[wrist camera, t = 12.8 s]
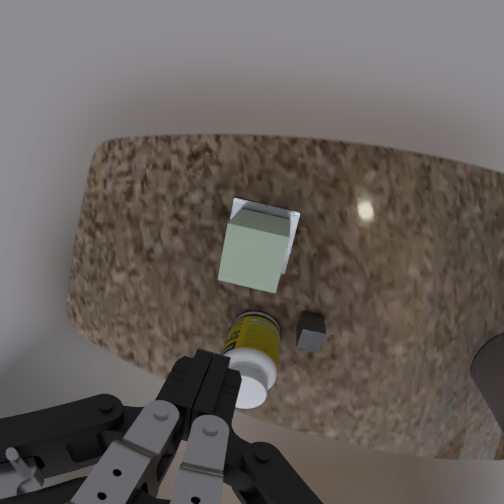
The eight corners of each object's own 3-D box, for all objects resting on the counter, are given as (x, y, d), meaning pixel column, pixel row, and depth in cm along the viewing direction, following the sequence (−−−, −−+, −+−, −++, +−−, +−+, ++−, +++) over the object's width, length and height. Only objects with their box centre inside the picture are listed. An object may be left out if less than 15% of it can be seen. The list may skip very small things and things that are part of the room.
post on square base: (300, 212, 32) (302, 228, 25) (284, 272, 34) (282, 302, 28) (235, 197, 32) (220, 209, 26) (223, 258, 35) (207, 283, 28)
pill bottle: (238, 303, 36) (217, 360, 26) (287, 318, 36) (284, 380, 26) (225, 342, 39) (204, 403, 28) (271, 356, 38) (263, 419, 28)
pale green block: (290, 219, 31) (289, 237, 25) (279, 266, 33) (275, 293, 27) (240, 208, 32) (227, 223, 25) (231, 255, 33) (217, 279, 27)
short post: (323, 315, 36) (326, 333, 32) (316, 333, 36) (318, 352, 33) (302, 310, 36) (302, 329, 32) (296, 328, 37) (296, 348, 33)
